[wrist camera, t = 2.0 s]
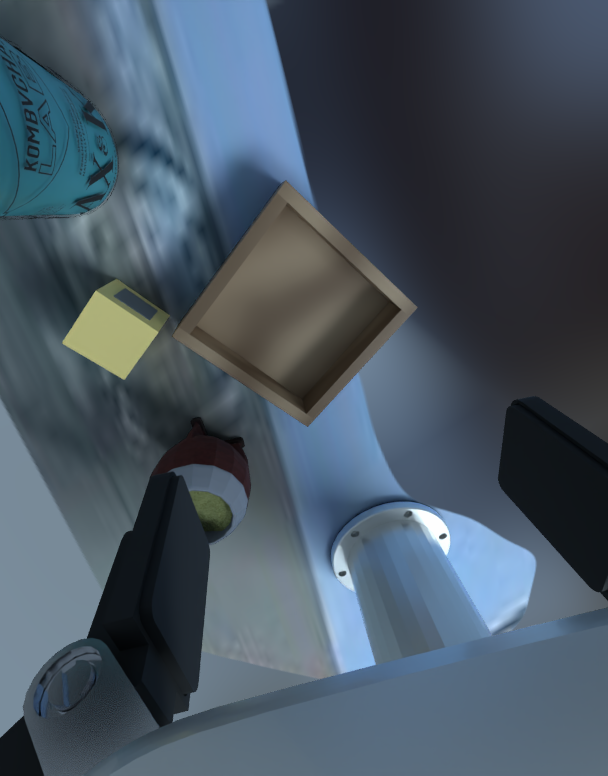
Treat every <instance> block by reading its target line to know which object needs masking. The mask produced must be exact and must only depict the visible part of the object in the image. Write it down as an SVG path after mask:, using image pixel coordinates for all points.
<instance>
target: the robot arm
mask: <svg viewBox="0 0 608 776" xmlns="http://www.w3.org/2000/svg"><path fill="white" fill-rule="evenodd" d="M498 481H499V484H500V487H501V488H502V490H503V491H504V492H505V493H506V494H507V496H508V497H509V498H510V499H511V500H512V501H513V502H514V503H515V504H516V506H517V507H518V508H519V509H520V510H521V511H522V512H523V513H524V514H525V516H526V517H527V518H528V519H529V520H530V521H531V522H532V523H533V524H534V526H535V527H536V528H537V529H538V530H539V531H540V532H541V533H542V535H544V537H545V538H546V539H547V540H548V541H549V542H550V543H551V545H552V546H553V547H554V548H555V549H556V550H557V551H558V552H559V553H560V554H561V556H562V557H563V558H564V559H565V560H566V561H567V562H568V563H569V565H570V566H571V567H572V568H573V569H574V570H575V571H576V572H577V573H578V575H579V576H580V577H581V578H582V579H583V580H584V581H585V582H586V584H587V585H588V586H589V587H590V588H591V589H593V590H594V591H596V592H600V593H601V594H602V595H603V596H604V597H605V598H606V599H607V600H608V443H606V442H605V441H603V440H602V439H600V438H599V437H597V436H596V435H594V434H593V433H591V432H590V431H588V430H587V429H585V428H584V427H582V426H581V425H579V424H578V423H576V422H575V421H573V420H572V419H570V418H569V417H567V416H566V415H564V414H563V413H561V412H560V411H558V410H557V409H555V408H554V407H552V406H551V405H549V404H548V403H546V402H545V401H543V400H542V399H540V398H539V397H536V396H532V397H527V398H522V399H517V400H514V401H513V402H512V404H511V406H509V407H508V408H507V411H506V418H505V427H504V435H503V443H502V451H501V459H500V467H499V475H498ZM449 547H450V533H449V529H448V527H447V525H446V524H445V522H444V520H443V519H442V517H441V516H440V515H439V514H438V513H437V512H436V511H435V510H433V509H432V508H430V507H428V506H425V505H423V504H420V503H415V502H392V503H386V504H382V505H379V506H376V507H373V508H371V509H369V510H367V511H364V512H363V513H361V514H359V515H358V516H356V517H355V518H353V519H352V520H351V521H350V522H349V523H348V524H346V525H345V526H344V528H343V529H342V530H341V531H340V532H339V534H338V535H337V537H336V539H335V541H334V543H333V546H332V550H331V562H332V567H333V571H334V574H335V576H336V578H337V579H338V580H339V582H340V583H341V584H342V585H344V586H345V587H346V588H348V589H350V590H352V591H354V592H355V593H356V597H357V600H358V604H359V607H360V611H361V614H362V618H363V621H364V625H365V628H366V632H367V635H368V639H369V642H370V646H371V649H372V653H373V656H374V660H375V663H376V665H374V666H370V667H366V668H362V669H359V670H355V671H351V672H347V673H343V674H339V675H335V676H331V677H327V678H323V679H320V680H316V681H312V682H308V683H305V684H300V685H296V686H292V687H289V688H285V689H281V690H278V691H274V692H270V693H267V694H263V695H260V696H256V697H252V698H249V699H245V700H241V701H238V702H234V703H230V704H227V705H223V706H220V707H216V708H213V709H210V710H207V711H204V712H201V713H198V714H195V715H192V716H189V717H186V718H183V719H180V720H177V721H175V722H172V721H173V714H177V713H180V712H185V711H188V708H189V699H190V693H192V692H196V690H197V688H198V682H199V671H200V660H201V649H202V638H203V627H204V616H205V605H206V594H207V582H208V571H209V560H210V548H209V543H208V540H207V537H206V535H205V532H204V529H203V527H202V524H201V522H200V519H199V516H198V514H197V511H196V508H195V506H194V503H193V501H192V498H191V495H190V493H189V490H188V487H187V485H186V482H185V480H184V477H183V476H182V475H179V476H176V474H175V472H173V471H172V472H167V473H162V474H157V475H153V476H151V478H150V480H149V483H148V486H147V489H146V492H145V495H144V498H143V501H142V504H141V507H140V510H139V513H138V516H137V519H136V522H135V525H134V528H133V531H128V532H126V533H125V534H124V536H123V538H122V540H121V543H120V546H119V549H118V552H117V554H116V557H115V560H114V563H113V566H112V569H111V571H110V574H109V577H108V580H107V583H106V585H105V588H104V591H103V594H102V597H101V600H100V602H99V605H98V608H97V611H96V614H95V617H94V619H93V622H92V625H91V628H90V631H89V634H88V636H87V639H81V640H78V641H76V642H74V643H71V644H69V645H68V646H66V647H64V648H63V649H62V650H60V651H59V652H57V653H56V654H55V655H54V656H53V657H52V658H51V659H49V660H48V661H47V662H46V663H45V664H44V665H43V667H42V668H41V669H40V671H39V672H38V674H37V675H36V676H35V677H34V679H33V681H32V683H31V685H30V687H29V689H28V691H27V693H26V697H25V701H24V705H23V710H24V716H23V717H22V718H21V719H20V720H19V721H18V722H17V723H15V724H14V725H13V726H12V727H11V728H10V729H9V730H8V731H7V732H6V733H5V734H4V735H3V736H2V737H1V738H0V776H608V608H604V609H599V610H595V611H592V612H587V613H583V614H579V615H575V616H571V617H567V618H562V619H558V620H554V621H550V622H546V623H542V624H538V625H534V626H530V627H526V628H522V629H518V630H514V631H509V632H505V633H501V634H497V635H493V636H492V634H491V632H490V631H489V629H488V627H487V625H486V624H485V622H484V620H483V618H482V617H481V615H480V613H479V612H478V610H477V608H476V606H475V605H474V603H473V601H472V599H471V598H470V596H469V594H468V592H467V591H466V589H465V587H464V586H463V584H462V582H461V580H460V579H459V577H458V575H457V573H456V572H455V570H454V568H453V566H452V565H451V563H450V561H449V560H448V558H447V553H448V551H449Z"/></svg>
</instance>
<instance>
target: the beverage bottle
mask: <svg viewBox="0 0 608 776" xmlns="http://www.w3.org/2000/svg"><path fill="white" fill-rule="evenodd" d="M0 35H1V34H0ZM1 36H2V35H1ZM1 36H0V37H1ZM2 37H3V36H2ZM2 37H1V38H2ZM1 38H0V216H2V217H3V216H17V217H18V216H20V215H27V217H28V218H29V216H31V218H29V219H36V218H38V219H39V218H43V217H36V216H35V217H34V215H37V216H39V215H41V216H42V215H43V216H44V215H47V216H48V217H49V215H52V216H53V215H71V214H80V213H81V214H84V213H86V212H87V211H90V210H92V209H94V208H97V206H100V204H102V203H103V201H105V199H106V197H107V196H108V195H109V193H110V192H111V190H112V188H113V185H114V182H115V179H116V174H117V155H116V149H115V145H114V142H113V139H112V136H111V133H110V131H109V128H108V127H107V125H106V122H107V121H106V122H105V121H104V119H102V117H101V116H100V115H101V114H102V113H101V114H100V113H98V112H97V111H96V109H97V108H96V107H95V108H96V109H95V108H94V107H93V106H92V104H93V103H92V104H91V103H90V102H91V101H90V102H89V100H88V99H87V100H88V101H87V100H86V99H85V98H84V97H83V96H84V95H83V94H82V93H81V92H80V93H81V94H82V95H83V96H81V95H80V94H79V93H77V92H76V91H75V90H73V89H72V88H70V87H69V86H68V85H66V84H65V83H63V82H62V81H60V80H59V79H58V78H59V77H58V78H56V77H55V76H54V75H55V74H54V75H52V74H53V73H52V74H51V73H50V72H51V71H53V70H52V69H50V68H49V67H48V68H49V69H50V70H51V71H50V72H48V71H49V70H48V71H46V70H47V69H46V68H44V67H43V66H41V65H40V64H39V63H37V62H36V61H34V60H33V59H32V58H30V57H29V56H28V55H26V54H25V53H23V52H22V51H21V50H19V48H17V47H14V46H12V45H11V44H10V43H9V42H8V41H9V40H8V41H7V39H5V38H4V37H3V38H4V39H5V40H6V41H7V42H8V43H9V44H8V43H7V42H5V41H4V40H3V39H1ZM14 44H15V43H14ZM19 47H20V46H19ZM45 69H46V70H45ZM53 72H54V71H53ZM55 73H56V72H55ZM56 74H57V73H56ZM57 76H60V75H58V74H57ZM60 78H62V79H63V77H61V76H60ZM66 82H67V81H66ZM68 83H69V82H68ZM69 84H70V83H69ZM70 85H71V84H70ZM71 86H72V85H71ZM72 87H73V86H72ZM75 89H76V88H75ZM77 89H78V88H77ZM77 89H76V90H77ZM78 90H79V89H78ZM78 90H77V91H78ZM79 91H80V90H79ZM95 106H96V105H95ZM98 110H99V109H98ZM103 117H104V116H103ZM105 120H106V119H105ZM111 132H112V131H111ZM113 137H114V136H113ZM114 140H115V139H114ZM115 144H116V142H115ZM116 148H117V146H116ZM117 154H118V151H117ZM118 169H119V160H118ZM117 177H118V175H117ZM116 182H117V180H116ZM115 185H116V184H115ZM114 188H115V187H114ZM113 190H114V189H113ZM112 192H113V191H112ZM111 194H112V193H111ZM110 196H111V195H110ZM110 196H109V197H110ZM107 200H108V199H107ZM99 208H100V207H99ZM92 211H93V210H92ZM95 211H96V210H95ZM90 212H91V211H90ZM93 212H94V211H93ZM88 213H89V212H88ZM91 213H92V212H91ZM81 214H80V215H81ZM86 214H87V213H86ZM28 215H29V216H28ZM32 215H33V217H32ZM84 215H85V214H84ZM81 216H82V215H81ZM81 216H80V217H81ZM24 217H25V216H24ZM45 217H46V216H45ZM45 217H44V218H43V219H46V218H45ZM74 217H75V216H74ZM0 218H1V217H0ZM21 218H23V217H20V219H21ZM49 218H50V217H49ZM53 218H69V217H57V216H56V217H53ZM4 219H6V217H4ZM10 219H11V218H10ZM10 219H9V220H10ZM17 219H18V218H17ZM11 220H12V219H11ZM14 220H16V218H15V219H14Z"/></svg>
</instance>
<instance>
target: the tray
mask: <svg viewBox="0 0 608 776" xmlns="http://www.w3.org/2000/svg"><path fill="white" fill-rule="evenodd" d="M416 309H417V307H416V306H415V305H414V304H413V303H412V302H411V301H410V300H409V299H408V298H407V297H406V296H405V295H404V294H403V293H402V292H401V291H400V290H399V289H398V288H396V287H395V285H394V284H392V283H391V282H390V281H389V280H388V279H387V278H386V277H385V276H384V275H383V274H382V273H381V272H380V271H379V270H378V269H377V268H376V267H375V266H374V265H373V264H372V263H371V262H370V261H369V260H368V259H367V258H366V257H365V256H364V255H363V254H361V253H360V252H359V251H358V250H357V249H356V248H355V247H354V246H353V245H352V244H351V243H350V242H349V241H348V240H347V239H346V238H345V237H344V236H343V235H342V234H341V233H340V232H339V231H337V229H336V228H335V227H333V226H332V225H331V224H330V223H329V222H328V221H327V220H326V219H325V218H324V217H323V216H322V215H321V214H320V213H319V212H318V211H317V210H316V209H315V208H314V207H313V206H312V205H311V204H310V203H309V202H308V201H307V200H306V199H305V198H304V197H302V196H301V195H300V194H299V193H298V192H297V191H296V190H295V189H294V188H293V187H292V186H291V185H290V184H289V183H288V182H287V181H284V182H283V183H281V184H280V186H279V187H278V189H277V190H276V191H275V193H274V194H273V195H272V197H271V198H270V200H269V201H268V202H267V204H266V205H265V206H264V208H263V209H262V210H261V212H260V213H259V215H258V216H257V217H256V219H255V220H254V221H253V223H252V224H251V226H250V227H249V228H248V230H247V231H246V232H245V234H244V235H243V237H242V238H241V239H240V241H239V242H238V243H237V245H236V246H235V248H234V249H233V250H232V252H231V253H230V254H229V256H228V257H227V259H226V260H225V261H224V263H223V264H222V265H221V267H220V268H219V269H218V271H217V272H216V274H215V275H214V276H213V278H212V279H211V280H210V282H209V283H208V285H207V286H206V287H205V289H204V290H203V291H202V293H201V294H200V296H199V297H198V298H197V300H196V301H195V302H194V304H193V305H192V307H191V308H190V309H189V311H188V312H187V313H186V315H185V316H184V318H183V319H182V320H181V322H180V323H179V325H178V326H177V328H176V330H175V332H174V333H173V335H172V337H173V338H175V339H176V340H178V341H179V342H181V343H182V344H184V345H185V346H187V347H188V348H190V349H191V350H193V351H194V352H196V353H197V354H199V355H200V356H202V357H203V358H205V359H206V360H208V361H209V362H211V363H212V364H214V365H215V366H217V367H218V368H220V369H221V370H223V371H224V372H226V373H227V374H229V375H230V376H232V377H233V378H235V379H236V380H238V381H239V382H241V383H242V384H244V385H245V386H247V387H248V388H250V389H251V390H253V391H254V392H256V393H257V394H259V395H260V396H262V397H263V398H265V399H266V400H268V401H269V402H271V403H272V404H274V405H275V406H277V407H278V408H280V409H281V410H283V411H284V412H286V413H287V414H289V415H290V416H292V417H293V418H295V419H296V420H298V421H299V422H301V423H302V424H304V425H305V426H307V427H308V426H309V425H310V424H311V423H312V422H313V421H314V419H315V418H316V417H317V416H318V415H319V414H320V413H321V412H322V411H323V410H324V409H325V408H326V406H327V405H328V404H329V403H330V402H331V401H332V400H333V399H334V398H335V397H336V396H337V394H338V393H339V392H340V391H341V390H342V389H343V388H344V387H345V386H346V385H347V384H348V383H349V381H350V380H351V379H352V378H353V377H354V376H355V375H356V374H357V373H358V372H359V370H360V369H361V368H362V367H363V366H364V365H365V364H366V363H367V362H368V361H369V360H370V359H371V358H372V356H373V355H374V354H375V353H376V352H377V351H378V350H379V349H380V348H381V347H382V346H383V345H384V343H385V342H386V341H387V340H388V339H389V338H390V337H391V336H392V335H393V334H394V333H395V331H396V330H397V329H398V328H399V327H400V326H401V325H402V324H403V323H404V322H405V321H406V320H407V318H408V317H409V316H410V315H411V314H412V313H413V312H414V311H415V310H416Z"/></svg>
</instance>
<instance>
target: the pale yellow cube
mask: <svg viewBox="0 0 608 776" xmlns="http://www.w3.org/2000/svg"><path fill="white" fill-rule="evenodd" d="M169 316H170V315H168V314H167V313H166V312H164V311H163V310H161V309H160V308H158V307H157V306H155V305H154V304H153V303H151V302H150V301H148V300H147V299H145V298H144V297H142V296H141V295H139V294H138V293H137V292H135V291H134V290H132V289H131V288H129V287H128V286H126V285H125V284H124V283H122V282H121V281H119V280H118V279H115V280H113V281H112V282H110V283H108V284H106V285H105V286H103V287H101V288H99V289H98V290H96V291H95V292H94V294H93V296H92V297H91V299H90V300H89V302H88V303H87V305H86V306H85V308H84V310H83V311H82V313H81V314H80V316H79V317H78V319H77V320H76V322H75V324H74V325H73V327H72V328H71V330H70V331H69V333H68V334H67V336H66V338H65V339H64V341H63V342H62V344H64V345H66V346H67V347H69V348H71V349H72V350H74V351H76V352H78V353H79V354H81V355H83V356H84V357H86V358H88V359H90V360H91V361H93V362H95V363H96V364H98V365H100V366H101V367H103V368H105V369H107V370H108V371H110V372H112V373H113V374H115V375H117V376H119V377H120V378H122V379H124V380H125V378H126V377H127V375H128V374H129V373H130V371H131V370H132V369H133V367H134V366H135V364H136V363H137V362H138V360H139V359H140V357H141V356H142V355H143V353H144V352H145V350H146V349H147V348H148V346H149V345H150V344H151V342H152V341H153V339H154V338H155V337H156V335H157V334H158V332H159V331H160V330H161V328H162V327H163V325H164V324H165V322H166V321H167V319H168V318H169Z"/></svg>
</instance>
